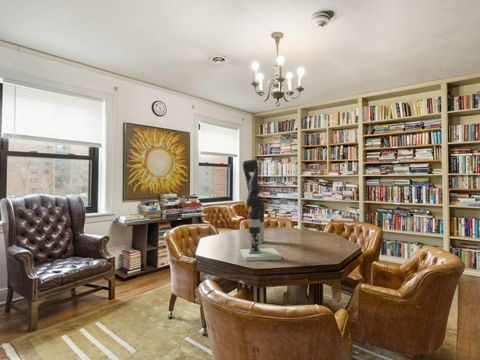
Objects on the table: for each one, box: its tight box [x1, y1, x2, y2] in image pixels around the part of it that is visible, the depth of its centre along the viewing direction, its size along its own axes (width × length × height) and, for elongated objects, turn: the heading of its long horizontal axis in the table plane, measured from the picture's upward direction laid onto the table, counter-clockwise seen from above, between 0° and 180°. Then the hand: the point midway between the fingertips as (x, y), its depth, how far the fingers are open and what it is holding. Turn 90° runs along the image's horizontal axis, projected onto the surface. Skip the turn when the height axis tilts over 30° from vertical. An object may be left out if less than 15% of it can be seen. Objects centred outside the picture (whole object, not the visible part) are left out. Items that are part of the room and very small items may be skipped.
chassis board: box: [240, 247, 283, 262], centre depth 189 cm, size 20×24×3 cm
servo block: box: [248, 247, 262, 254], centre depth 189 cm, size 4×9×6 cm, turn 98°
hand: (254, 249), depth 189 cm, fingers open, 8 cm apart
